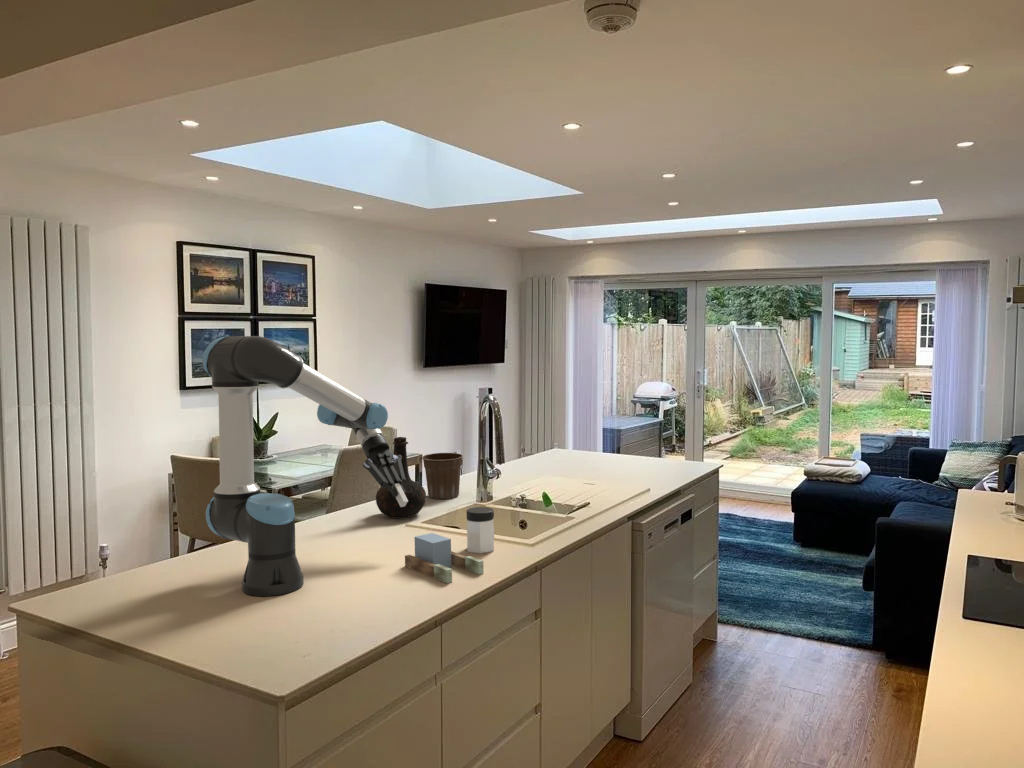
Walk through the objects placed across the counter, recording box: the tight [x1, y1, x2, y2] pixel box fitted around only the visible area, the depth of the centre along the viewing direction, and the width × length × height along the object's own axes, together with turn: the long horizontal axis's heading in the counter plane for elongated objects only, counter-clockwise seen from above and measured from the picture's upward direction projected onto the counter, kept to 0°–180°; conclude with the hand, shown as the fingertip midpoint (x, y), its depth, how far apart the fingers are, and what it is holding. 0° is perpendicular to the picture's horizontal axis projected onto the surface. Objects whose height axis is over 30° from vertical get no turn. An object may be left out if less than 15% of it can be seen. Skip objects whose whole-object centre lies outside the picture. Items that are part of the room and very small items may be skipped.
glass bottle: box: [375, 436, 427, 519], centre depth 271 cm, size 18×18×28 cm
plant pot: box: [421, 452, 464, 500], centre depth 303 cm, size 16×16×16 cm
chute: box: [404, 550, 484, 584], centre depth 210 cm, size 20×12×4 cm, turn 41°
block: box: [414, 532, 452, 569], centre depth 214 cm, size 9×6×8 cm, turn 41°
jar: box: [466, 506, 495, 555], centre depth 229 cm, size 9×8×12 cm
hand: (404, 504), depth 224 cm, fingers closed
